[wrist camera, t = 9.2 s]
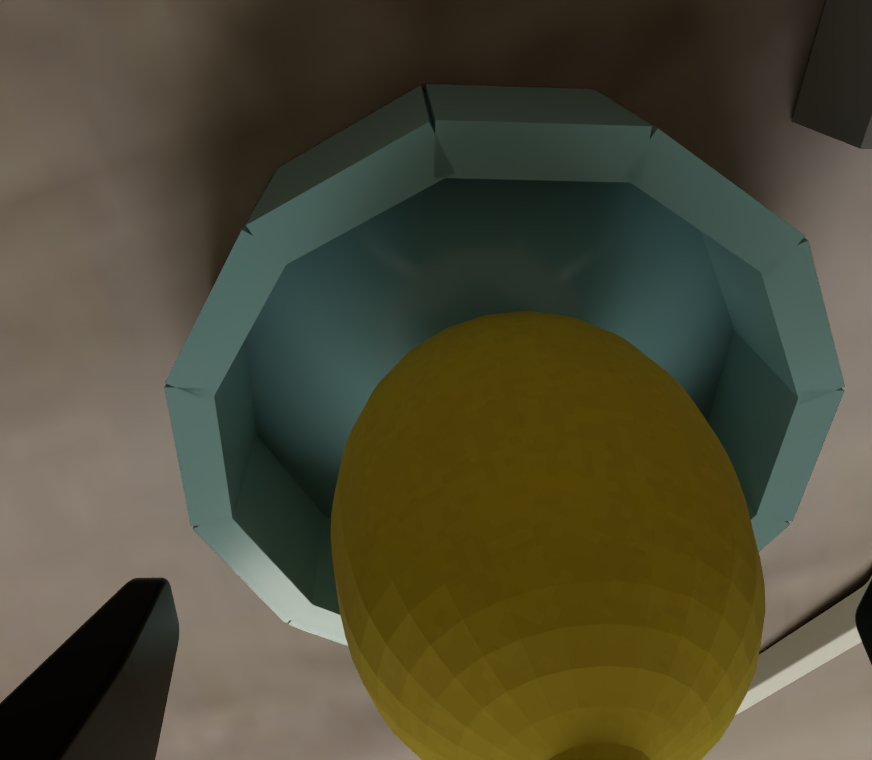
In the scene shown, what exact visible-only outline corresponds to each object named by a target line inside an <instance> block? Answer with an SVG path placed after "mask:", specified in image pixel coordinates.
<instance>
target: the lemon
mask: <svg viewBox="0 0 872 760" xmlns="http://www.w3.org/2000/svg"><path fill="white" fill-rule="evenodd" d="M331 548H332V559H333V566H334V574H335V581H336V589H337V596H338V603H339V610H340V615H341V620H342V624H343V629H344V633H345V637H346V640H347V643H348V647H349V650H350V653H351V656H352V659H353V662H354V664H355V666H356V668H357V670H358V673H359V675H360V677H361V679H362V681H363V684H364V685H365V687H366V689H367V691H368V693H369V695H370V696H371V698H372V700H373V702H374V704H375V706H376V707H377V709H378V711H379V713H380V714H381V716H382V717H383V719H384V720H385V721H386V723H387V724H388V726H389V727H390V729H391V730H392V731H393V733H394V734H395V735H396V736H397V737H398V738H399V739H400V740H401V741H402V742H403V743H405V744H406V745H407V746H408V747H409V748H410V749H411V750H412V751H413V752H414V753H415V754H416V755H417V756H418V757H419V758H420V759H422V760H701V759H702V758H703V757H704V756H705V755H706V754H707V753H708V752H709V751H710V750H711V749H712V747H713V746H714V745H715V744H716V743H717V742H718V741H719V740H720V738H721V737H722V735H723V734H724V732H725V731H726V729H727V728H728V726H729V725H730V723H731V722H732V720H733V718H734V716H735V714H736V713H737V711H738V709H739V707H740V705H741V703H742V701H743V700H744V698H745V696H746V694H747V691H748V689H749V686H750V684H751V682H752V679H753V677H754V674H755V672H756V669H757V662H758V656H759V650H760V644H761V637H762V630H763V623H764V616H765V588H764V579H763V573H762V567H761V561H760V556H759V552H758V548H757V544H756V540H755V536H754V532H753V528H752V523H751V520H750V516H749V512H748V508H747V504H746V500H745V497H744V494H743V491H742V488H741V485H740V482H739V480H738V477H737V474H736V472H735V470H734V467H733V465H732V463H731V461H730V459H729V456H728V454H727V453H726V451H725V449H724V447H723V446H722V444H721V442H720V441H719V439H718V437H717V436H716V434H715V433H714V431H713V430H712V428H711V427H710V425H709V424H708V422H707V421H706V419H705V418H704V416H703V415H702V413H701V412H700V410H699V409H698V407H697V406H696V404H695V403H694V401H693V400H692V399H691V397H690V396H689V395H688V393H687V392H686V391H685V389H684V388H683V387H682V386H681V385H680V384H679V383H678V382H677V381H676V380H675V379H674V378H673V376H672V375H670V374H669V373H668V372H667V371H665V370H664V369H663V368H662V367H660V366H659V365H658V364H657V363H655V362H654V361H653V360H651V359H650V358H649V357H648V356H646V355H645V354H644V353H642V352H641V351H640V350H639V349H637V348H636V347H635V346H633V345H632V344H631V343H630V342H628V341H627V340H625V339H624V338H622V337H620V336H618V335H616V334H614V333H612V332H609V331H607V330H604V329H602V328H599V327H597V326H594V325H592V324H589V323H587V322H584V321H582V320H579V319H577V318H573V317H569V316H564V315H556V314H549V313H542V312H535V311H518V312H507V313H497V314H487V315H483V316H480V317H477V318H474V319H471V320H468V321H465V322H463V323H460V324H457V325H454V326H451V327H448V328H446V329H444V330H442V331H441V332H439V333H437V334H436V335H434V336H432V337H431V338H429V339H428V340H426V341H424V342H423V343H421V344H419V345H418V346H416V347H414V348H413V349H412V350H411V351H409V352H408V353H407V354H406V355H405V356H404V357H403V358H402V359H401V360H400V361H399V362H398V363H397V364H396V365H395V366H394V367H393V368H392V369H391V370H390V372H389V373H388V374H387V375H386V376H385V377H384V378H383V379H382V380H381V381H380V382H379V383H378V384H377V386H376V387H375V389H374V390H373V392H372V393H371V395H370V397H369V399H368V401H367V402H366V404H365V406H364V408H363V410H362V412H361V413H360V415H359V417H358V419H357V421H356V423H355V424H354V426H353V428H352V430H351V433H350V435H349V437H348V440H347V442H346V446H345V449H344V453H343V456H342V461H341V465H340V470H339V475H338V480H337V485H336V489H335V494H334V500H333V507H332V513H331Z"/></svg>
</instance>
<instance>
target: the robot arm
mask: <svg viewBox="0 0 872 760" xmlns="http://www.w3.org/2000/svg"><path fill="white" fill-rule="evenodd" d="M855 623H856V627H857V631H858V633H859V636H860V638H861V640H862V643H863V645H864V648H865V650H866V652H867V655H868V657H869V660H870V662H871V664H872V579H871V581H870V583H869V585H868V587H867V589H866V591H865V593H864V595H863V597H862V599H861V601H860V603H859V605H858V607H857V609H856V613H855ZM178 640H179V622H178V617H177V613H176V608H175V604H174V599H173V595H172V590H171V586H170V584H169V582H168V580H166V579H165V578H135V579H132V580H130V581H129V582H127V583H126V584H125V585H124V586H123V587H122V588H121V589H120V590H119V591H118V592H117V593H116V594H115V595H114V596H112V597H111V598H110V599H109V600H108V601H107V602H106V603H105V604H104V605H103V606H102V607H101V608H100V609H99V610H98V611H97V612H96V613H95V614H94V615H93V616H91V617H90V618H89V619H88V620H87V621H86V622H85V623H84V624H83V625H82V626H81V627H80V628H79V629H78V630H77V631H76V632H75V633H74V634H73V635H72V636H70V637H69V638H68V639H67V640H66V641H65V642H64V643H63V644H62V645H61V646H60V647H59V648H58V649H57V650H56V651H55V652H54V653H53V654H52V655H50V656H49V657H48V658H47V659H46V660H45V661H44V662H43V663H42V664H41V665H40V666H39V667H38V668H37V669H36V670H35V671H34V672H33V673H32V674H31V675H29V676H28V677H27V678H26V679H25V680H24V681H23V682H22V683H21V684H20V685H19V686H18V687H17V688H16V689H15V690H14V691H13V692H12V693H11V694H10V695H8V696H7V697H6V698H5V699H4V700H3V701H2V702H1V703H0V760H155V757H156V752H157V748H158V743H159V738H160V733H161V728H162V723H163V717H164V712H165V707H166V702H167V697H168V692H169V687H170V682H171V677H172V672H173V667H174V661H175V656H176V651H177V646H178Z"/></svg>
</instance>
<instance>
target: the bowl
mask: <svg viewBox="0 0 872 760" xmlns="http://www.w3.org/2000/svg"><path fill="white" fill-rule="evenodd" d="M804 237H805V236H804V235H803V234H802V233H800V232H799V231H798V230H796V229H795V228H793V227H792V226H791V225H789V224H788V223H787V222H785V221H784V220H782V219H781V218H780V217H778V216H777V215H776V214H774V213H773V212H772V211H770V210H769V209H767V208H766V207H765V206H763V205H762V204H761V203H759V202H758V201H757V200H755V199H754V198H752V197H751V196H750V195H748V194H747V193H746V192H744V191H743V190H742V189H740V188H739V187H737V186H736V185H735V184H733V183H732V182H731V181H729V180H728V179H727V178H725V177H724V176H722V175H721V174H720V173H718V172H717V171H716V170H714V169H713V168H712V167H710V166H709V165H707V164H706V163H705V162H703V161H702V160H701V159H699V158H698V157H696V156H695V155H694V154H692V153H691V152H690V151H688V150H687V149H686V148H684V147H683V146H681V145H680V144H679V143H677V142H676V141H675V140H673V139H672V138H671V137H669V136H668V135H666V134H665V133H664V132H662V131H661V130H660V129H658V128H657V127H655V126H653V125H652V124H650V123H649V122H647V121H645V120H644V119H642V118H641V117H639V116H637V115H636V114H634V113H633V112H631V111H629V110H628V109H626V108H625V107H623V106H621V105H620V104H618V103H616V102H615V101H613V100H612V99H610V98H608V97H607V96H605V95H604V94H602V93H600V92H599V91H595V90H593V89H572V88H541V87H511V86H480V85H449V84H426V94H425V92H424V90H423V88H422V86H421V85H420V86H418V87H417V88H415V89H413V90H411V91H410V92H408V93H406V94H405V95H403V96H401V97H399V98H398V99H396V100H394V101H392V102H391V103H389V104H387V105H386V106H384V107H382V108H380V109H379V110H377V111H375V112H374V113H372V114H370V115H368V116H367V117H365V118H363V119H361V120H360V121H358V122H356V123H355V124H353V125H351V126H349V127H348V128H346V129H344V130H343V131H341V132H339V133H337V134H336V135H334V136H332V137H330V138H329V139H327V140H325V141H324V142H322V143H320V144H318V145H317V146H315V147H313V148H311V149H310V150H308V151H306V152H305V153H303V154H301V155H299V156H298V157H296V158H294V159H293V160H291V161H289V162H287V163H286V164H284V165H282V166H280V167H279V168H278V170H277V171H275V173H274V174H273V176H272V178H271V180H270V181H269V183H268V185H267V187H266V188H265V190H264V192H263V194H262V195H261V197H260V199H259V201H258V202H257V204H256V206H255V208H254V209H253V211H252V213H251V214H250V216H249V218H248V220H247V221H246V223H245V225H244V227H243V228H242V230H241V232H240V234H239V236H238V238H237V240H236V242H235V244H234V246H233V248H232V250H231V252H230V254H229V256H228V258H227V260H226V262H225V264H224V266H223V268H222V270H221V272H220V274H219V276H218V278H217V280H216V282H215V284H214V286H213V288H212V290H211V292H210V294H209V296H208V298H207V300H206V302H205V304H204V306H203V308H202V310H201V312H200V314H199V316H198V318H197V320H196V322H195V324H194V326H193V328H192V330H191V332H190V334H189V336H188V338H187V340H186V342H185V344H184V346H183V348H182V350H181V352H180V354H179V356H178V358H177V360H176V362H175V364H174V366H173V368H172V370H171V372H170V374H169V376H168V378H167V380H166V382H165V383H166V385H165V387H164V388H165V394H166V399H167V404H168V409H169V415H170V420H171V425H172V430H173V436H174V441H175V446H176V451H177V456H178V462H179V467H180V472H181V477H182V483H183V488H184V493H185V498H186V504H187V509H188V514H189V519H190V524H191V526H194V527H193V530H194V531H195V532H196V533H197V534H198V535H199V536H200V537H201V538H202V539H203V540H204V541H205V542H206V543H207V544H208V545H209V546H210V547H211V548H212V549H213V550H214V551H215V552H216V553H217V554H218V555H219V556H220V557H221V558H222V559H223V560H224V562H225V563H226V564H227V565H228V566H229V567H230V568H231V569H232V570H233V571H234V572H235V573H236V574H237V575H238V576H239V577H240V578H241V579H242V580H243V581H244V582H245V583H246V584H247V585H248V586H249V587H250V588H251V589H252V590H253V591H254V592H255V593H256V594H257V595H258V596H259V597H260V598H261V599H262V600H263V601H264V602H265V603H266V604H267V605H268V606H269V607H270V608H271V609H272V610H273V611H274V612H275V613H276V614H277V615H278V616H279V617H280V618H281V619H282V620H283V622H284V623H285V622H288V621H289V623H288V625H290V626H293V627H296V628H298V629H301V630H304V631H307V632H310V633H313V634H315V635H318V636H321V637H324V638H327V639H329V640H332V641H335V642H338V643H341V644H343V645H346V646H348V643H347V640H346V637H345V633H344V629H343V624H342V620H341V615H340V610H339V603H338V596H337V589H336V581H335V574H334V566H333V559H332V548H331V513H332V507H333V500H334V494H335V489H336V485H337V480H338V475H339V470H340V465H341V461H342V456H343V453H344V449H345V446H346V442H347V440H348V437H349V435H350V433H351V430H352V428H353V426H354V424H355V423H356V421H357V419H358V417H359V415H360V413H361V412H362V410H363V408H364V406H365V404H366V402H367V401H368V399H369V397H370V395H371V393H372V392H373V390H374V389H375V387H376V386H377V384H378V383H379V382H380V381H381V380H382V379H383V378H384V377H385V376H386V375H387V374H388V373H389V372H390V370H391V369H392V368H393V367H394V366H395V365H396V364H397V363H398V362H399V361H400V360H401V359H402V358H403V357H404V356H405V355H406V354H407V353H408V352H409V351H411V350H412V349H413V348H414V347H416V346H418V345H419V344H421V343H423V342H424V341H426V340H428V339H429V338H431V337H432V336H434V335H436V334H437V333H439V332H441V331H442V330H444V329H446V328H448V327H451V326H454V325H457V324H460V323H463V322H465V321H468V320H471V319H474V318H477V317H480V316H483V315H487V314H497V313H507V312H518V311H535V312H542V313H549V314H556V315H564V316H569V317H573V318H577V319H579V320H582V321H584V322H587V323H589V324H592V325H594V326H597V327H599V328H602V329H604V330H607V331H609V332H612V333H614V334H616V335H618V336H620V337H622V338H624V339H625V340H627V341H628V342H630V343H631V344H632V345H633V346H635V347H636V348H637V349H639V350H640V351H641V352H642V353H644V354H645V355H646V356H648V357H649V358H650V359H651V360H653V361H654V362H655V363H657V364H658V365H659V366H660V367H662V368H663V369H664V370H665V371H667V372H668V373H669V374H670V375H672V376H673V378H674V379H675V380H676V381H677V382H678V383H679V384H680V385H681V386H682V387H683V388H684V389H685V391H686V392H687V393H688V395H689V396H690V397H691V399H692V400H693V401H694V403H695V404H696V406H697V407H698V409H699V410H700V412H701V413H702V415H703V416H704V418H705V419H706V421H707V422H708V424H709V425H710V427H711V428H712V430H713V431H714V433H715V434H716V436H717V437H718V439H719V441H720V442H721V444H722V446H723V447H724V449H725V451H726V453H727V454H728V456H729V459H730V461H731V463H732V465H733V467H734V470H735V472H736V474H737V477H738V480H739V482H740V485H741V488H742V491H743V494H744V497H745V500H746V504H747V508H748V512H749V516H750V520H751V523H752V528H753V532H754V536H755V540H756V544H757V548H758V552H759V551H760V550H762V549H763V548H764V547H765V546H766V545H767V544H768V543H770V542H771V541H772V540H773V539H774V538H775V537H776V536H777V535H779V534H780V533H781V532H782V531H783V530H784V529H785V528H787V527H788V526H789V525H790V524H789V522H788V521H793V519H794V516H795V514H796V511H797V509H798V506H799V504H800V501H801V499H802V496H803V494H804V491H805V489H806V486H807V484H808V481H809V478H810V476H811V473H812V471H813V468H814V466H815V463H816V461H817V458H818V456H819V453H820V451H821V448H822V446H823V443H824V441H825V438H826V436H827V433H828V431H829V428H830V426H831V423H832V421H833V418H834V416H835V413H836V411H837V408H838V406H839V403H840V401H841V398H842V396H843V393H844V390H843V389H842V387H844V386H845V385H844V381H843V377H842V373H841V369H840V365H839V361H838V357H837V353H836V349H835V345H834V341H833V337H832V333H831V329H830V325H829V321H828V317H827V313H826V309H825V305H824V302H823V298H822V294H821V290H820V286H819V282H818V278H817V274H816V270H815V266H814V262H813V258H812V254H811V250H810V246H809V242H808V240H807V239H805V238H804Z"/></svg>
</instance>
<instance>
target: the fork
mask: <svg viewBox="0 0 872 760" xmlns="http://www.w3.org/2000/svg"><path fill="white" fill-rule="evenodd" d="M871 579H872V576H871V578H870V579H869V581H868V582H867V583H866V584H865V585H864V586H863V587H861V588H860V589H858V590H857V591H855V592H854V593H852V594H851V595H849V596H848V597H846V598H845V599H843V600H842V601H840V602H839V603H837V604H836V605H834V606H833V607H831V608H829V609H828V610H826V611H825V612H823V613H822V614H820V615H819V616H817V617H816V618H814V619H813V620H811V621H810V622H808V623H807V624H805V625H803V626H802V627H800V628H799V629H797V630H796V631H794V632H793V633H791V634H790V635H788V636H787V637H785V638H784V639H782V640H781V641H779V642H777V643H776V644H774V645H773V646H771V647H770V648H768V649H767V650H765V651H764V652H762V653H761V654H759V656H758V662H757V669H756V672H755V674H754V677H753V679H752V682H751V684H750V686H749V689H748V691H747V694H746V696H745V698H744V700H743V701H742V703H741V705H740V707H739V709H738V711H737V713H736V714H735V715H737V714H738V713H740V712H742V711H744V710H745V709H747V708H749V707H750V706H752V705H754V704H756V703H757V702H759V701H761V700H762V699H764V698H766V697H768V696H769V695H771V694H773V693H774V692H776V691H778V690H780V689H781V688H783V687H785V686H786V685H788V684H790V683H792V682H793V681H795V680H797V679H798V678H800V677H802V676H804V675H805V674H807V673H809V672H810V671H812V670H814V669H816V668H817V667H819V666H821V665H822V664H824V663H826V662H828V661H829V660H831V659H833V658H834V657H836V656H838V655H840V654H841V653H843V652H845V651H846V650H848V649H850V648H851V647H853V646H855V645H857V644H858V643H860V642H862V640H861V638H860V636H859V633H858V631H857V627H856V623H855V613H856V609H857V607H858V605H859V603H860V601H861V599H862V597H863V595H864V593H865V591H866V589H867V587H868V585H869V583H870V581H871Z"/></svg>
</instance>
